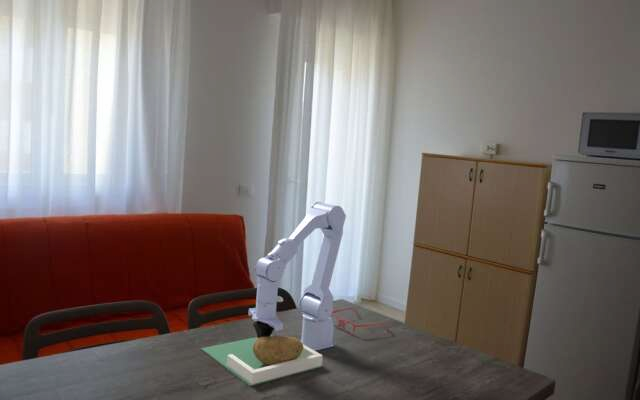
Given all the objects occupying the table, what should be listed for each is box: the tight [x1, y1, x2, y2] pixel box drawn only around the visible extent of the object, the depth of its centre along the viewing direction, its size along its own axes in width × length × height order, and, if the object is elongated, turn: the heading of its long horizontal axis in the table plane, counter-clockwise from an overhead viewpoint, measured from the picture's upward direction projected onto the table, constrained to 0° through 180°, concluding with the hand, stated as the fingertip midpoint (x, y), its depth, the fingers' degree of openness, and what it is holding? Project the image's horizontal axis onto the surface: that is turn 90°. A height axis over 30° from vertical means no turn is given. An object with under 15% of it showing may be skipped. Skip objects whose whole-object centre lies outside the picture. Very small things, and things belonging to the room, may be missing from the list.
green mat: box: [200, 334, 324, 387], centre depth 151 cm, size 24×26×1 cm
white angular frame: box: [227, 345, 324, 384], centre depth 146 cm, size 23×13×3 cm, turn 130°
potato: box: [253, 335, 304, 366], centre depth 146 cm, size 10×14×8 cm
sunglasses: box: [330, 307, 389, 336], centre depth 183 cm, size 17×16×5 cm
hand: (263, 347), depth 150 cm, fingers closed
